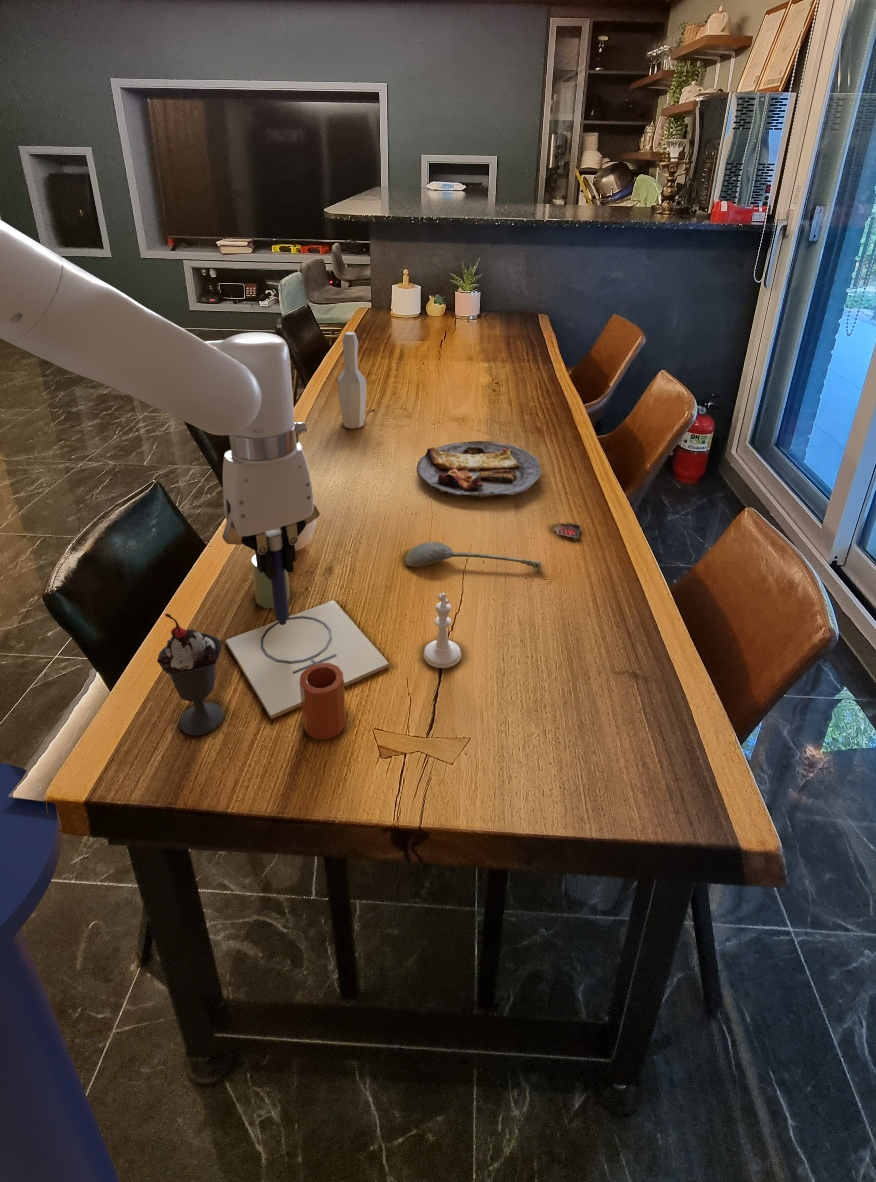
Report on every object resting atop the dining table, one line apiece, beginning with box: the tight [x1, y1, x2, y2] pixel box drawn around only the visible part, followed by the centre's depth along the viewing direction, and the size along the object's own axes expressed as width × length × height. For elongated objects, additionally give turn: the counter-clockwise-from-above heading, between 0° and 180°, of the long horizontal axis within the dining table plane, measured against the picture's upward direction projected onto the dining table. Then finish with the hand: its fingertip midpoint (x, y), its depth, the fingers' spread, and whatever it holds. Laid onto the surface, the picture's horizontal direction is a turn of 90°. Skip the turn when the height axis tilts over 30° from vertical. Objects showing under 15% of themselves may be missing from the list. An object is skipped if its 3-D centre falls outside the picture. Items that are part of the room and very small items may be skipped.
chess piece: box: [423, 592, 462, 669], centre depth 90 cm, size 5×5×10 cm
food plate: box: [416, 440, 542, 499], centre depth 140 cm, size 25×23×4 cm
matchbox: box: [553, 523, 581, 541], centre depth 121 cm, size 5×5×1 cm
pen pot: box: [300, 663, 347, 740], centre depth 80 cm, size 5×5×7 cm
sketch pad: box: [225, 599, 390, 720], centre depth 91 cm, size 16×16×1 cm
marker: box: [266, 530, 290, 625], centre depth 89 cm, size 2×2×14 cm
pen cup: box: [250, 554, 291, 609], centre depth 101 cm, size 5×5×7 cm
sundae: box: [156, 612, 225, 736], centre depth 78 cm, size 7×7×15 cm
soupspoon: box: [404, 541, 542, 572], centre depth 111 cm, size 22×3×7 cm
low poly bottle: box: [336, 331, 368, 430], centre depth 158 cm, size 6×6×22 cm
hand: (277, 569), depth 89 cm, fingers closed on marker, 2 cm apart
